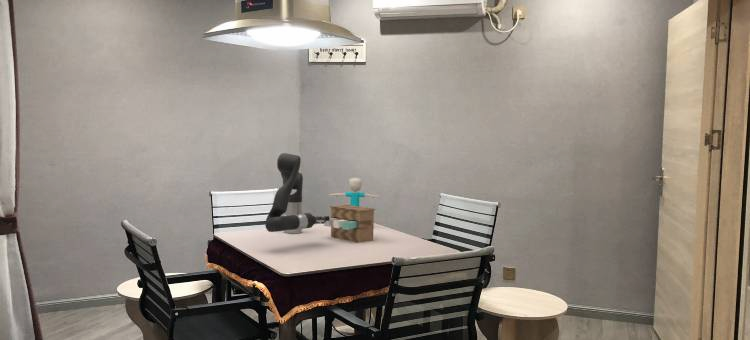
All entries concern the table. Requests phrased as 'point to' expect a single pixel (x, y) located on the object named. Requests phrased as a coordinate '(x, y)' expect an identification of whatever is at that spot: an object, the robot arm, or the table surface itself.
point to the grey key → (330, 222)
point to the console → (353, 214)
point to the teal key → (350, 225)
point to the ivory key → (339, 223)
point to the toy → (354, 186)
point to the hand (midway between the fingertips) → (328, 218)
